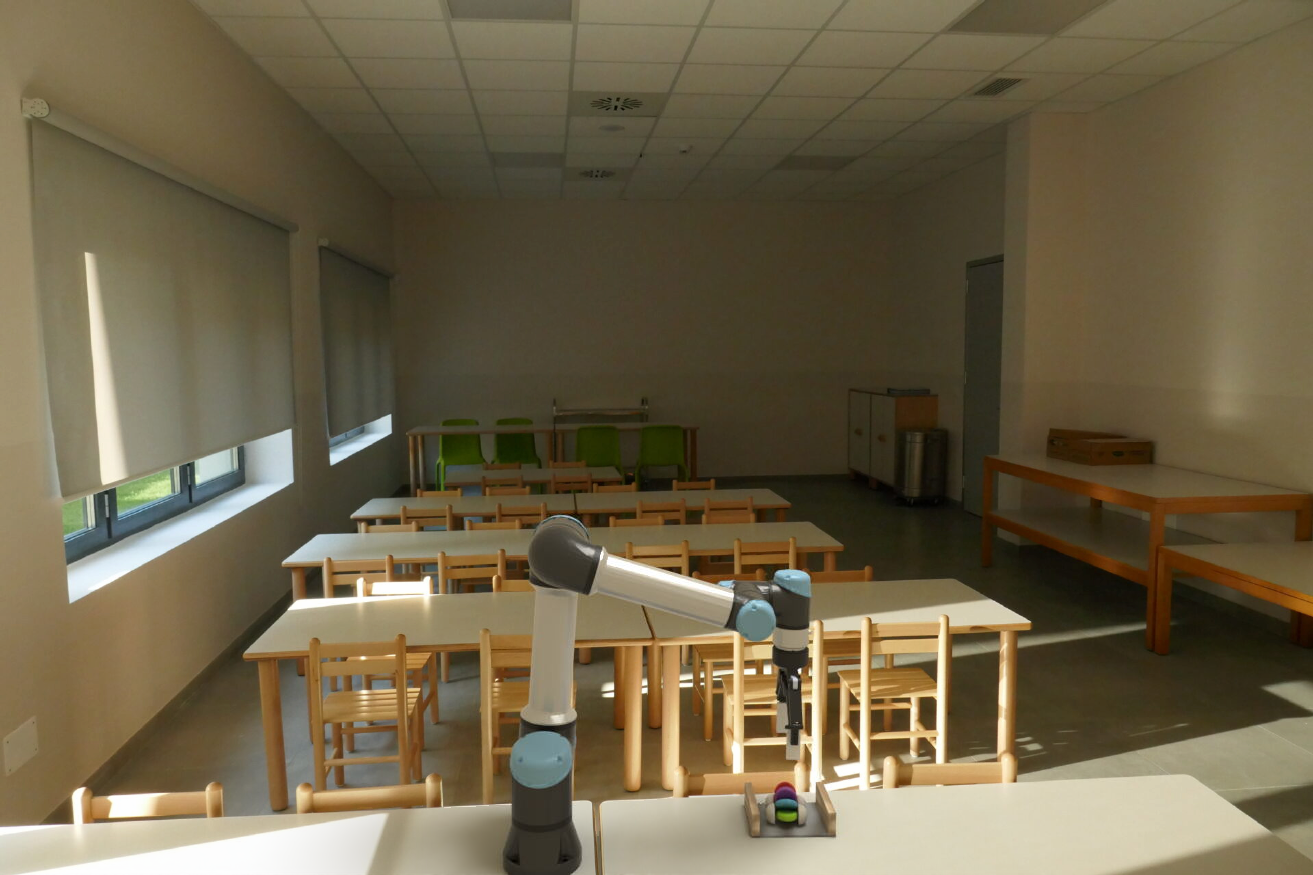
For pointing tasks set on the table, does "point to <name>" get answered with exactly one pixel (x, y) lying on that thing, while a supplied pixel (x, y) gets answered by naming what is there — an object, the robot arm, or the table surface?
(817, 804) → the bay
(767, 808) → the rainbow petal toy
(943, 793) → the table surface
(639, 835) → the table surface
